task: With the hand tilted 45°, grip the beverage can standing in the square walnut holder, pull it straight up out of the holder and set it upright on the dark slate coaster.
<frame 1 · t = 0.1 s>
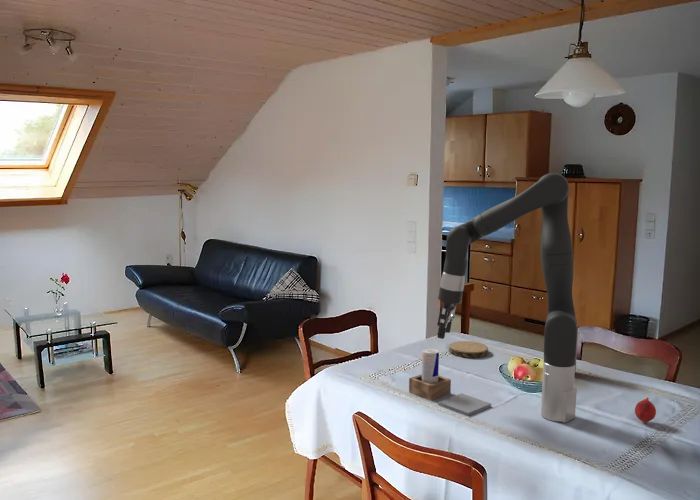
hand: (443, 335, 198), 22 cm above the table, tool pointing down, fingers open, 8 cm apart
onion: (644, 423, 184), on the table
juice carton: (564, 373, 230), on the table
round wood slice: (468, 353, 255), on the table
slate coaster: (464, 405, 197), on the table
beverage can: (429, 393, 208), resting in walnut holder
walnut holder: (429, 392, 208), on the table
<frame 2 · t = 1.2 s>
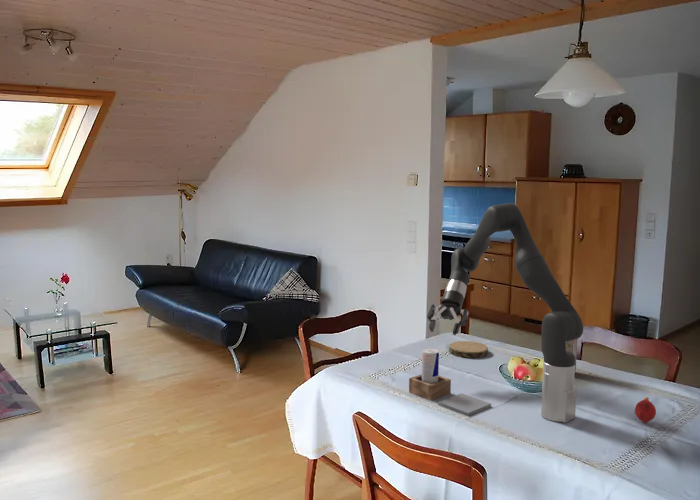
hand: (442, 332, 216), 19 cm above the table, tool tilted 45°, fingers open, 8 cm apart
nothing on the table moved.
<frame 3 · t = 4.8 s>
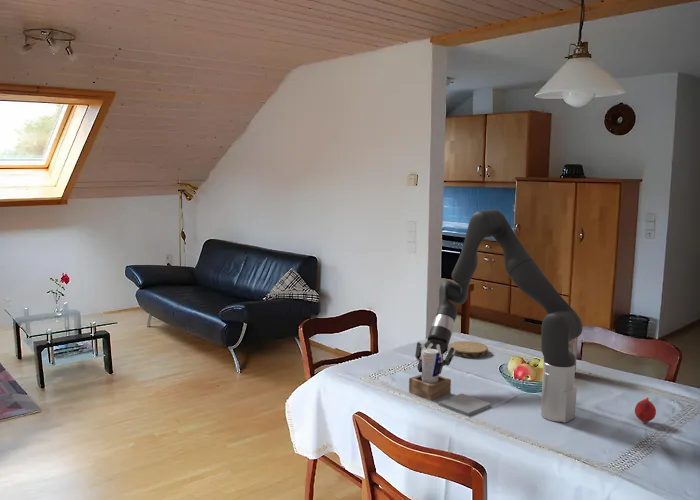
hand: (428, 372, 206), 8 cm above the table, tool tilted 45°, fingers closed on beverage can, 5 cm apart
beverage can: (429, 393, 208), resting in walnut holder, touching gripper
everything else where it was.
when the fingers open (10 cm above the table, at t = 10.8 s): beverage can drops 2 cm, resting on slate coaster.
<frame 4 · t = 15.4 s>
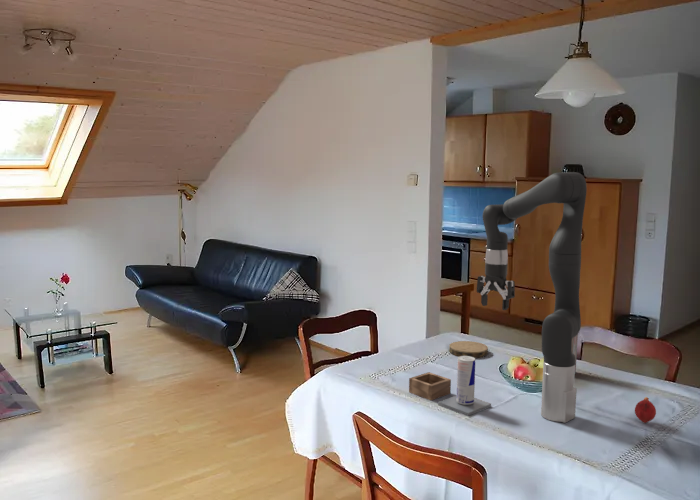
hand: (494, 307, 213), 28 cm above the table, tool pointing down, fingers open, 8 cm apart
beverage can: (465, 403, 197), point 1 cm above the table, touching slate coaster
everything else where it was.
at the end: beverage can inside the target area on the slate coaster (0.2 cm from its centre), point 0.8 cm above the slate coaster's base; beverage can tilted 0°; the gripper is holding nothing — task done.
